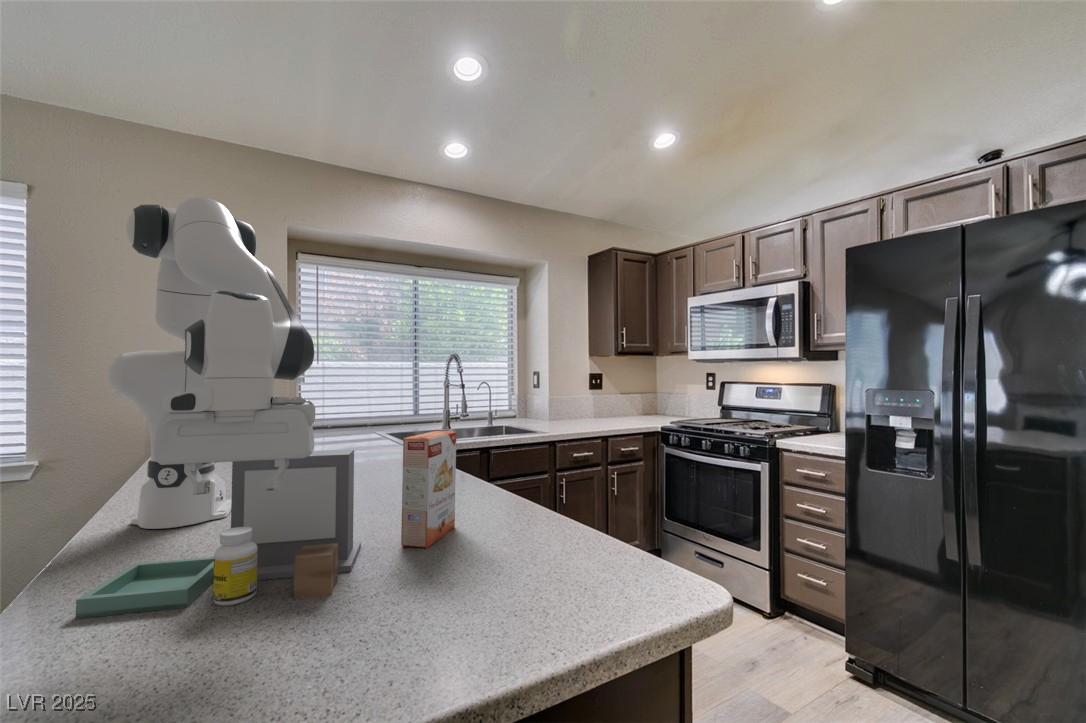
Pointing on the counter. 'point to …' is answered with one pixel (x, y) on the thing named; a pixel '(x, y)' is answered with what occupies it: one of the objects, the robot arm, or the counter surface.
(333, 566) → the walnut block
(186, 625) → the counter surface
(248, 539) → the supplement bottle
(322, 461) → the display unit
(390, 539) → the counter surface
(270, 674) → the counter surface
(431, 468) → the cracker box
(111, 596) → the tray
